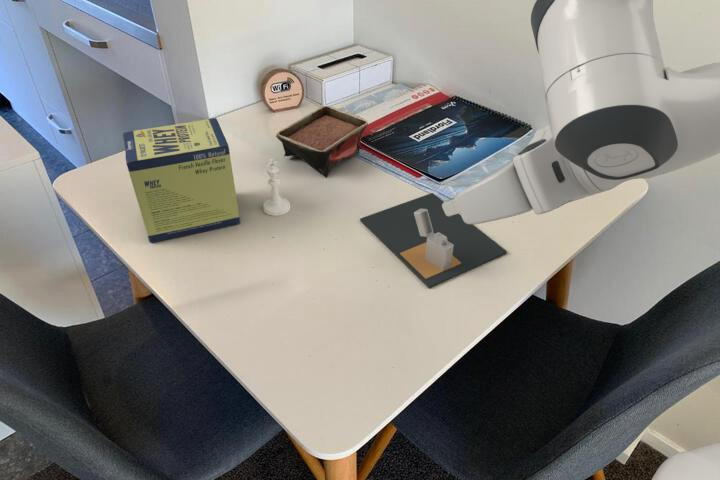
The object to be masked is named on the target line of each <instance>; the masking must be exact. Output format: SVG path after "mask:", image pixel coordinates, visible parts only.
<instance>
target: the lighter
mask: <svg viewBox="0 0 720 480" xmlns="http://www.w3.org/2000/svg"><path fill="white" fill-rule="evenodd" d="M414 216H415V219H416V223H417V226H418V230H419V234H420V236H423V237H427V242H426V251H425V259H426V260H427V261H429V262H431V263H432V264H434V265H435V266H437V267H438V268H440V269H442V270H443V271H445V270H446V269H448V268H449V267H450V266H451V260H452V254H453V247H454V244H452V243H450V242H449V241H447V237H446V236H444V235H443V234H441V233H439V232H438V233H436V234H435V233H433V228H432V224H431V221H430V217H429V213H428V210H427V209H419V210H417V211H415V212H414Z"/></svg>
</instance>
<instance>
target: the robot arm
mask: <svg viewBox="0 0 720 480" xmlns="http://www.w3.org/2000/svg"><path fill="white" fill-rule="evenodd" d="M530 26H531V30H532V34H533V38H534V43H535V47H536V50H537V53H538V57H539V64H540V70H541V77H542V84H543V85H542V86H543V91H544V92H543V93H544V98H545V102H546V108H547V114H548V122H549V124H546V125H545V126H541V127H539V128H538V129H537V130H536V131H535V133H534V135H533V138H532V139H531V140H530V141H529V142H528V143H527V145H526V146H525V147H524V148H523V149H522V150H521V151H519V152H518V153H517V155H515V156H513V158H512V159H511V160H509V161H507V162H506V163H504V164H503V165H501V166H499V167H498V168H496V169H495V170H493V171H491V172H490V173H488V174H486V175H485V176H483V177H482V178H480V179H478V180H477V181H476V182H474V183H472V184H471V185H469V186H467V187H466V188H463V190H460V191H459V192H457V193H456V194H455V195H454V197H452V198H450V199H447V200H445V201H443V202H444V203H443V204H442V208H443V210H444V212H445V214H446V215H447V216H452V215H455V214H460V215H461V217H462V219H463V221H464V222H465V223H467V224H473V225H480V224H486V223H489V222H495V221H499V220H503V219H508V218H512V217H516V216H519V215H522V214H526V213H529V212H531V211H533V212H534V214H535V215H544V214H547V213H549V212H553V211H554V210H556V209H559V208H560V207H563V206H564V205H566V204H568V203H572V202H575V201H579V200H582V199H585V198H587V197H591V196H593V195H594V196H595V195H597V194H601V193H605V192H607V191H611V190H613V189H615V188H616V187H618V186H619V185H621V184H623V183H626V182H628V181H631V180H640V179H652V178H655V177H658V176H662V175H666V174H669V173H671V172H674V171H678V170H681V169H683V168H686V167H689V166H691V165H694V164H697V163H700V162H702V161H705V160H707V159H710V158H712V157H714V156H717V155H719V154H720V61H719V62H712V63H709V64H704V65H700V66H696V67H694V68H690V69H686V70H683V71H677V70H674V69H672V68H670V67H669V66H666V67H665V64H664V61H663V56H662V52H661V47H660V41H659V37H658V34H657V28H656V24H655V18H654V0H535V3H534V5H533V7H532V10H531V13H530ZM651 480H720V441H718V442H714V443H710V444H707V445H704V446H700V447H699V446H698V447H696V448H693V449H688V450H686V451H682V452H678V453H675V454H673V455H670V456H669V457H667V458H666V459H665V460H664V461H663V462H662V463H661V464H660V465H659V467H658V468H657V469H656V471H655V473H654V475H653V476H652V477H651Z"/></svg>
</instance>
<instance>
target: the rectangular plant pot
mask: <svg viewBox="0 0 720 480" xmlns="http://www.w3.org/2000/svg"><path fill="white" fill-rule="evenodd" d="M368 125H369V121H368V120H366V119H365V118H363V117H360V116H359V115H356V114H354V113H351V112H348V111H346V110H343V109H339V108H336V107H334V106H329V105H322V106H320V107H319V108H316V109H315V110H313V111H311V112H310V113H308V114H307V115H305V116H303V117H301V118H300V119H298V120H296V121H294V122H292V123H291V124H289V125H288V126H286V127H284V128H282V129H281V130H279V131H278V132H276V135H275V137H276V138H277V140H279V142H280V143H281V144H282V147H283V150H284V155H283V157H296V156H297V157H298V158H300V159H301V160H302V161H303V162H305V163H306V164H307V165H308V166H309V167H311V169H313V170H314V171H316V172H317V173H319V174H320V175H322V176H323V177H325V178H326V179H327V178H328V176H329V174H330V173H331V171H332V170H333V169H334V168H335V166H336V165H338V163H340V161H341V160H342V159H343V160H344V159H349V158H351V157H352V156H354V155H356V154H357V155H360V146H359V142H360V140H361V137H362V135H363V133H364V132H365V130H366V128H367V127H368Z"/></svg>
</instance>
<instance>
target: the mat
mask: <svg viewBox="0 0 720 480" xmlns="http://www.w3.org/2000/svg"><path fill="white" fill-rule="evenodd" d="M444 202H445V201H444V200H442V199H441V198H440V197H439V196H437V195H436V194H435V193H434V192H431V193H427V194H425V195H422V196H419V197H417V198H414V199H411V200H408V201H405V202H402V203H399V204H397V205H394V206H391V207H389V208H386V209H383V210H380V211H377V212H374V213H371V214H369V215H366V216H363V217H361V218H360V219H359V221H360V223H362V224H363V226H365V227H366V228H367V229H368V230H369V231H370V232H371V233H372V234H373V235H374V236H375V237H376V238H377V239H378V240H379V241H380V242H381V243H382V244H383V245H384V246H385V247H386V248H387V249H388V250H389V251H390V252H391V253H392V254H393V255H395V257H396V258H397V259H398V260H399V261H400V262H401V263H402V264H404V266H405V267H406V268H407V269H408V270H409V271H411V272H412V274H414V275H415V276H416V278H418V279H419V281H421V282H422V283H423V284H424V285H425V286H426V287H427V288H428V289H431V288H433V287H435V286H438V285H440V284H443V283H445V282H447V281H449V280H452V279H454V278H457V277H459V276H460V275H463V274H465V273H468V272H470V271H472V270H473V269H476V268H478V267H480V266H482V265H485V264H487V263H490V262H492V261H494V260H497V259H498V258H500V257H503V256H505V255H507V254H508V251H507V250H506V249H505V248H504V247H502V246H501V245H500V244H498V243H497V242H496V241H495V240H493V239H492V238H491V237H490V236H488V235H487V234H486V233H484V231H482V230H480V229H479V228H478V227H477V226H475V224H467V223H465V222H464V221H463V219H462V217H461V215H460V214H455V215H452V216H447V215H446V214H445V212H444V210H443V208H442V204H443V203H444ZM419 209H427V210H428V213H429V217H430V221H431V224H432V228H433V233H435V234H436V233H438V232H439V233H441V234H443V235H444V236H446V237H447V241H449V242H450V243H452V244H454V247H453V254H452V260H451V266H450V267H449V268H448V269H446V270H445V271H443V270H442V269H440V268H438V267H437V266H435V265H434V264H432V263H431V262H429V261H427V260H426V259H425V251H426V242H427V237H423V236H420V234H419V230H418V226H417V223H416V219H415V216H414V212H415V211H417V210H419Z"/></svg>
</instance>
